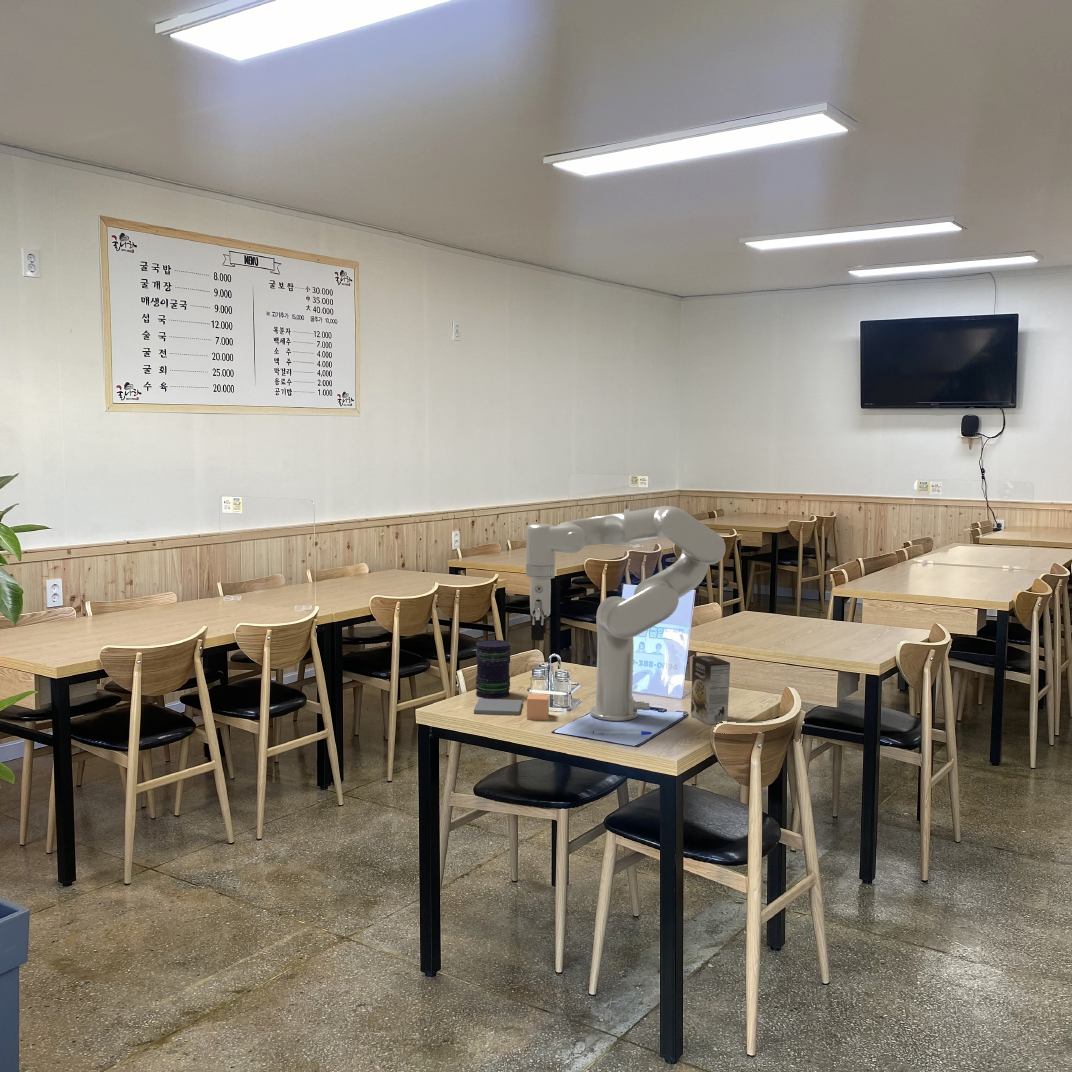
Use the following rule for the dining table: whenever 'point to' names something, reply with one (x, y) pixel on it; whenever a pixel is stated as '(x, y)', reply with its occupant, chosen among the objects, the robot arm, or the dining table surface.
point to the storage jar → (493, 669)
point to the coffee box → (710, 689)
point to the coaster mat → (498, 706)
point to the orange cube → (538, 706)
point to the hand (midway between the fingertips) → (538, 636)
